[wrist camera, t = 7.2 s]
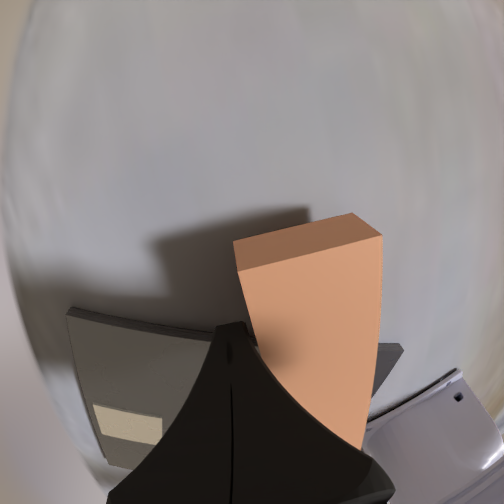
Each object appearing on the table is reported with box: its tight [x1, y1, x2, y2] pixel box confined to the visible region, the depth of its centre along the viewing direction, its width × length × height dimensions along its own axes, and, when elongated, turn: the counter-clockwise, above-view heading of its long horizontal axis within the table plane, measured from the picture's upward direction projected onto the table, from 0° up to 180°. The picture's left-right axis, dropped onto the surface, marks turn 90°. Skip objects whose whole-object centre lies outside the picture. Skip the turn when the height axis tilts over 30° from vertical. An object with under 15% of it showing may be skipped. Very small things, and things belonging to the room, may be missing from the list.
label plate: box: [66, 307, 404, 470], centre depth 15 cm, size 16×17×1 cm
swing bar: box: [233, 213, 382, 451], centre depth 12 cm, size 17×4×3 cm, turn 12°
